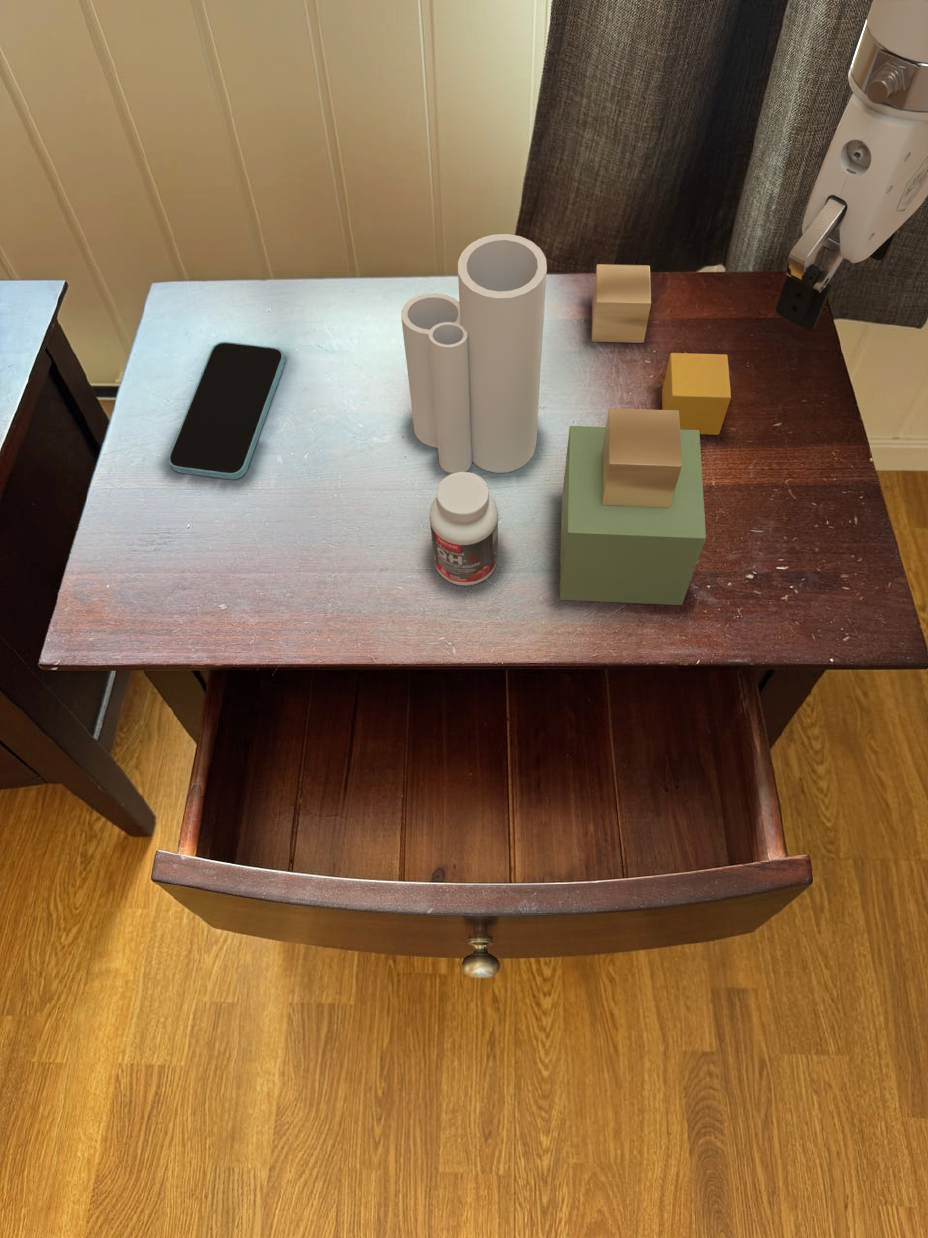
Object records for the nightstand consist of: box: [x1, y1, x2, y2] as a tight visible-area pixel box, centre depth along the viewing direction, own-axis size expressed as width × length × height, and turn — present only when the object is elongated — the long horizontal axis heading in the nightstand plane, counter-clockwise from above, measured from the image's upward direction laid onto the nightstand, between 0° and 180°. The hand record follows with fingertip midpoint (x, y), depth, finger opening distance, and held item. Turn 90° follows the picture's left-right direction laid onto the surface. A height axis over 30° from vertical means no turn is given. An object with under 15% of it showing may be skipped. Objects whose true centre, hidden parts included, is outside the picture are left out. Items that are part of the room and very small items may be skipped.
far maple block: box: [591, 263, 652, 344], centre depth 89 cm, size 5×5×5 cm
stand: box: [558, 425, 707, 606], centre depth 75 cm, size 10×10×10 cm
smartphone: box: [168, 341, 286, 480], centre depth 87 cm, size 7×1×15 cm
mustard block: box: [661, 352, 732, 436], centre depth 84 cm, size 5×5×5 cm
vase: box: [400, 233, 548, 474], centre depth 76 cm, size 11×7×20 cm, turn 83°
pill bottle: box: [429, 471, 499, 586], centre depth 75 cm, size 5×5×10 cm
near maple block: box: [602, 407, 682, 508], centre depth 68 cm, size 5×5×5 cm
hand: (830, 284), depth 71 cm, fingers open, 9 cm apart
